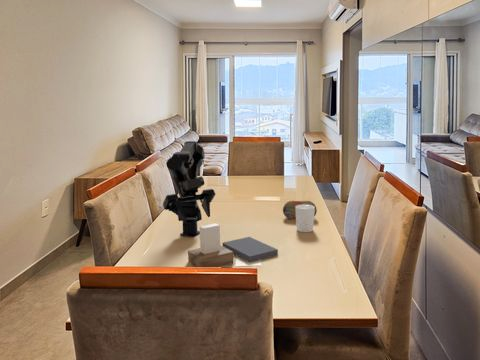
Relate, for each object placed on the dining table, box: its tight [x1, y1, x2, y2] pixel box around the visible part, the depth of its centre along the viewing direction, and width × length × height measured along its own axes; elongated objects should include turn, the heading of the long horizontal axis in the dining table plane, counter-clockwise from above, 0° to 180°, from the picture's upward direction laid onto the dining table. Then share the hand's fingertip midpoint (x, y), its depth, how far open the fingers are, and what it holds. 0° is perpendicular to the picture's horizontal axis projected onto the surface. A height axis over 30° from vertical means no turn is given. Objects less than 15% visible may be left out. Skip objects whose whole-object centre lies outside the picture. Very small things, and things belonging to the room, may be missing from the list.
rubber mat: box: [222, 236, 279, 263], centre depth 166 cm, size 18×12×2 cm, turn 33°
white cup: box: [295, 205, 315, 233], centre depth 189 cm, size 8×8×10 cm
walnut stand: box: [187, 244, 234, 268], centre depth 155 cm, size 10×12×4 cm
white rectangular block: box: [199, 223, 221, 254], centre depth 154 cm, size 3×6×9 cm, turn 123°
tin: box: [282, 200, 318, 220], centre depth 206 cm, size 15×3×8 cm, turn 81°
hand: (197, 218), depth 160 cm, fingers open, 9 cm apart
